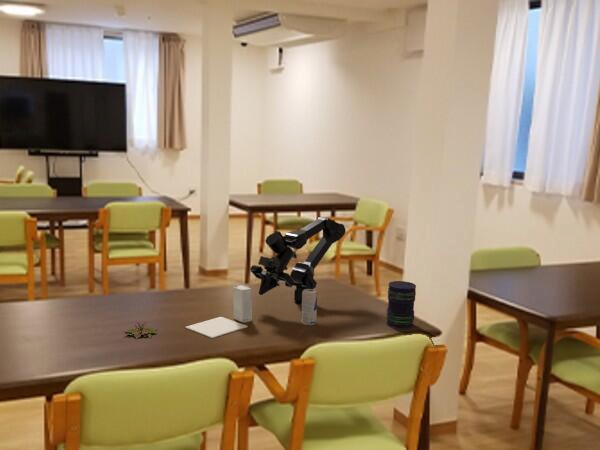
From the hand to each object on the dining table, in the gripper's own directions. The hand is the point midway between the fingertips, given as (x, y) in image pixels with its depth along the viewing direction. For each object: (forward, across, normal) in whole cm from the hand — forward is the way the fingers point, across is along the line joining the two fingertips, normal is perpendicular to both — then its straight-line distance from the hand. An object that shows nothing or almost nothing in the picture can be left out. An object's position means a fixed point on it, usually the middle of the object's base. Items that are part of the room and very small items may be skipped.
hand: (259, 294), depth 222 cm
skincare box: (+12, 0, 0) cm, 12 cm away
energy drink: (+1, +19, +10) cm, 21 cm away
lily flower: (+36, -13, -24) cm, 45 cm away
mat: (+20, 0, -9) cm, 22 cm away
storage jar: (-15, +42, +27) cm, 52 cm away
